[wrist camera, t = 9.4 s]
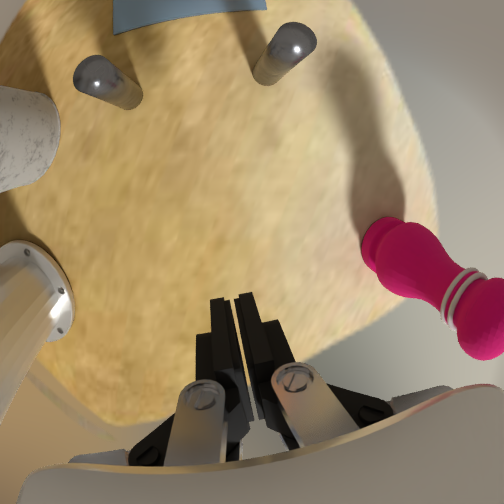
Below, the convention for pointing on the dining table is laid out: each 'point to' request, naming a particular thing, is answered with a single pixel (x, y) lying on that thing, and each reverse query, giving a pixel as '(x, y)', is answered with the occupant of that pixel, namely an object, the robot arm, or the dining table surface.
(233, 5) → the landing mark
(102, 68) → the post
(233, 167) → the dining table surface
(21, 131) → the speckled stone cylinder
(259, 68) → the post
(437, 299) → the pepper mill
